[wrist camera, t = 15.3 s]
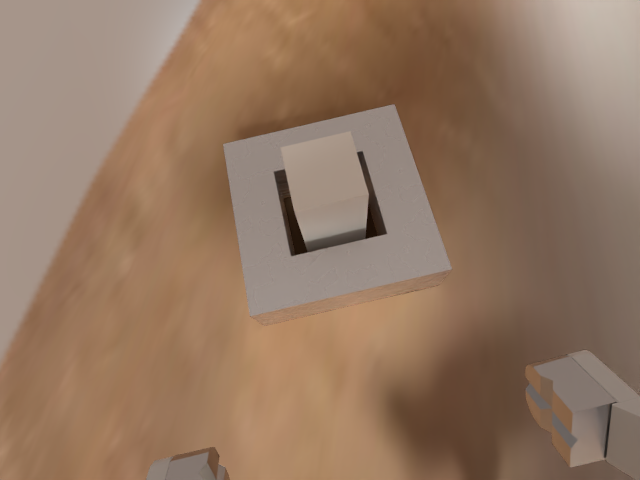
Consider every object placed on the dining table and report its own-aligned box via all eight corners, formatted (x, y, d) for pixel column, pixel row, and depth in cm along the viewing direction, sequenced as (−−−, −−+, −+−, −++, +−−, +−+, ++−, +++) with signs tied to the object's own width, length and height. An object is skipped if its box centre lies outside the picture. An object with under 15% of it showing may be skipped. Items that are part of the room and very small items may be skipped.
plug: (364, 244, 29) (368, 193, 21) (309, 257, 29) (294, 211, 21) (351, 194, 30) (350, 131, 23) (298, 207, 30) (280, 147, 23)
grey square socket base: (438, 285, 27) (452, 269, 23) (264, 326, 27) (250, 316, 23) (389, 137, 31) (394, 104, 28) (238, 173, 31) (223, 144, 28)
